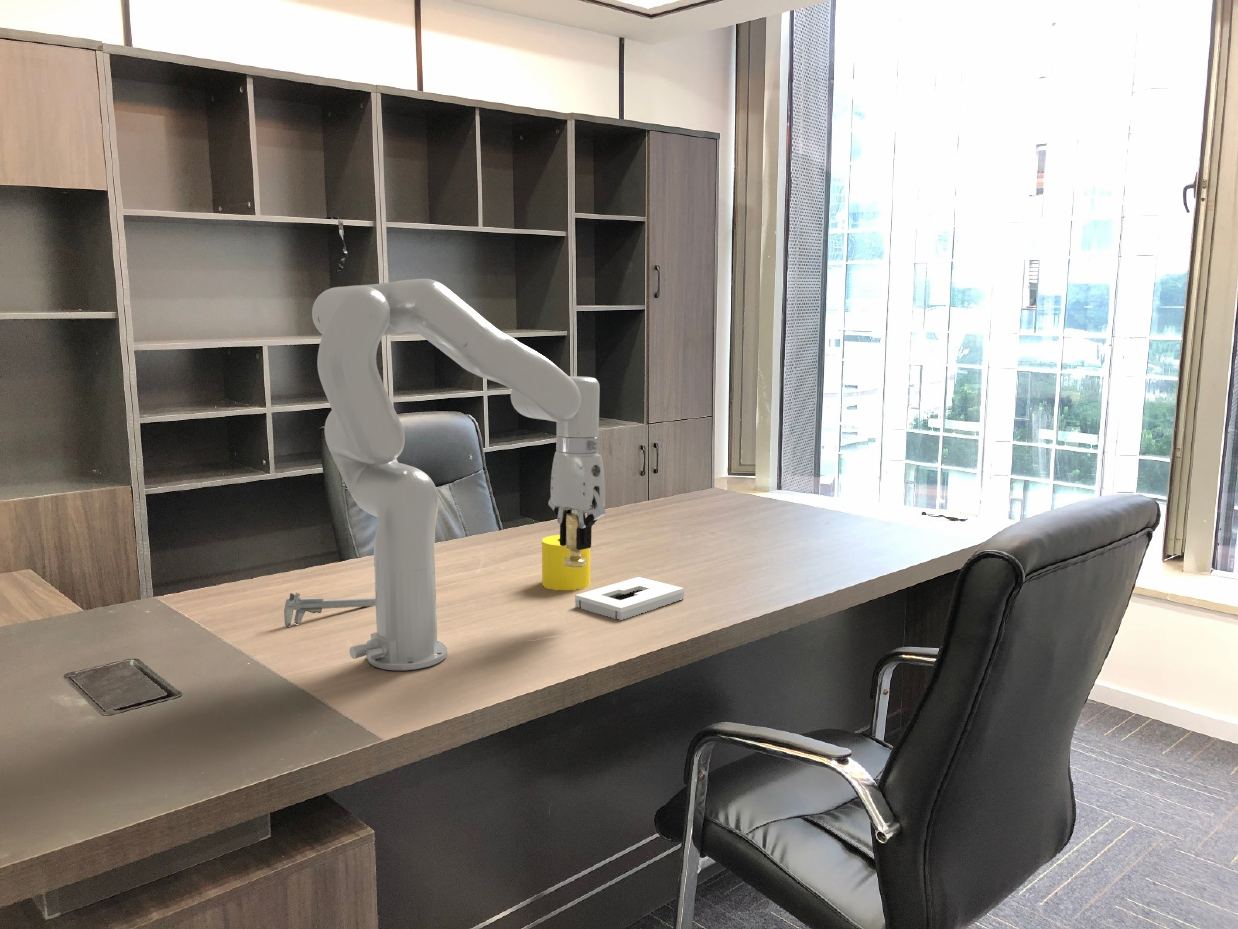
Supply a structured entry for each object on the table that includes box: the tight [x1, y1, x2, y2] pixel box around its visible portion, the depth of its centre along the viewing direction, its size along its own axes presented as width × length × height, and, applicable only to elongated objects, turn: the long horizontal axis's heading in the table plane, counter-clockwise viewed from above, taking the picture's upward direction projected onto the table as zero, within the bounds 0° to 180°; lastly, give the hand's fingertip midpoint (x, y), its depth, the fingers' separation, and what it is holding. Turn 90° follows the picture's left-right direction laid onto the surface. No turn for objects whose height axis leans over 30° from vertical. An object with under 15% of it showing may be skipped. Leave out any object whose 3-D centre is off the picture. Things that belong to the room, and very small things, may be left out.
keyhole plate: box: [574, 576, 685, 621], centre depth 184 cm, size 18×12×2 cm, turn 137°
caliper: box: [283, 592, 376, 627], centre depth 176 cm, size 20×1×6 cm, turn 139°
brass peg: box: [564, 512, 587, 567], centre depth 171 cm, size 4×4×9 cm
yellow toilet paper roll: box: [541, 534, 591, 591], centre depth 197 cm, size 10×10×9 cm
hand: (575, 545), depth 171 cm, fingers closed on brass peg, 3 cm apart
